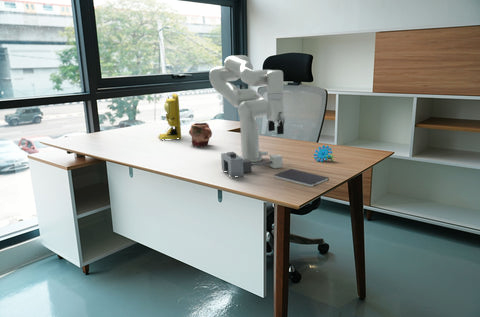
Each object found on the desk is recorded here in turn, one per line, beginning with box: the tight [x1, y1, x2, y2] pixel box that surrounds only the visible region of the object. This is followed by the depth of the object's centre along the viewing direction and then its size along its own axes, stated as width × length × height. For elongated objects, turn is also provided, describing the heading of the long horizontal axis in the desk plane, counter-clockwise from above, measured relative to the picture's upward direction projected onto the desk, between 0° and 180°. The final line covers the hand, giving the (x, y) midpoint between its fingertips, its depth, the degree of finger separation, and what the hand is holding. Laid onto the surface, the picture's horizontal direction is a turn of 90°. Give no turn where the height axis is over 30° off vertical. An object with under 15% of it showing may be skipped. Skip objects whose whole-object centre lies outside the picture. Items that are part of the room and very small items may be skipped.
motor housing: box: [220, 151, 244, 178], centre depth 185 cm, size 6×14×10 cm, turn 21°
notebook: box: [273, 168, 330, 187], centre depth 175 cm, size 13×2×21 cm
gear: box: [313, 144, 334, 163], centre depth 203 cm, size 11×6×10 cm
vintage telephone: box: [158, 93, 182, 140], centre depth 273 cm, size 31×14×30 cm, turn 17°
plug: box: [243, 153, 283, 173], centre depth 190 cm, size 22×4×6 cm, turn 111°
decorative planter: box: [188, 122, 213, 147], centre depth 246 cm, size 20×12×14 cm, turn 49°
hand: (275, 132), depth 189 cm, fingers open, 9 cm apart
